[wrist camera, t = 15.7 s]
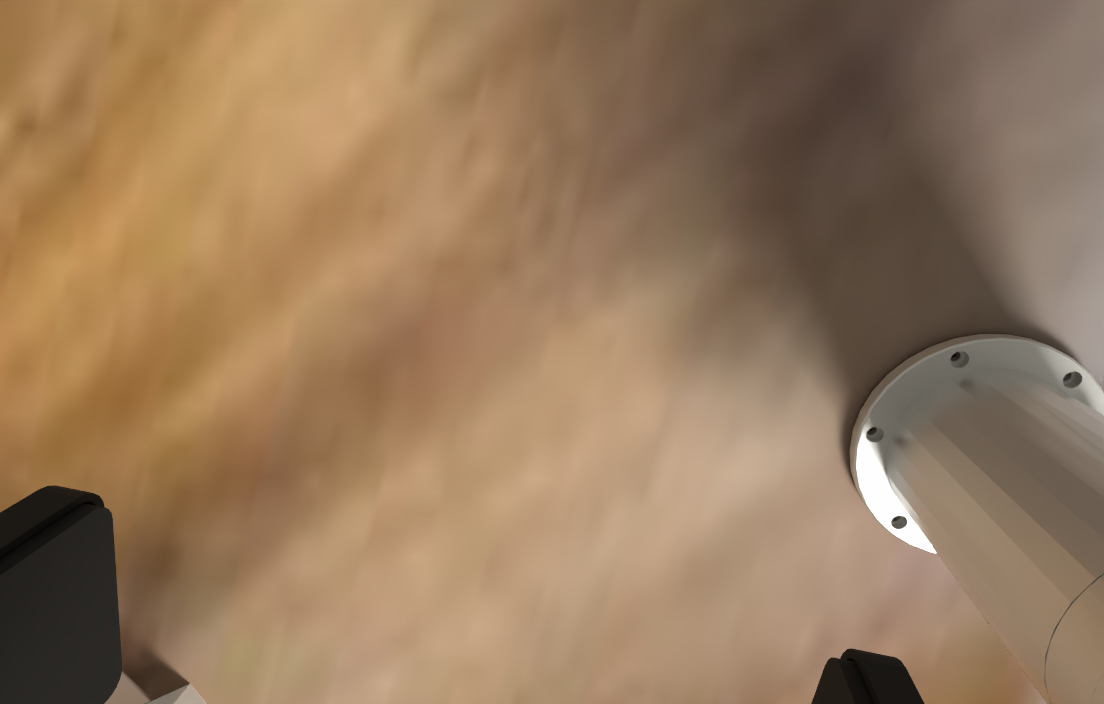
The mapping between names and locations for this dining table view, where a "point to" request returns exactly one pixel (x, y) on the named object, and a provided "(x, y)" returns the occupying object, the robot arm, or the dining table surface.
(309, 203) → the dining table surface
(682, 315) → the dining table surface
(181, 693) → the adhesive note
